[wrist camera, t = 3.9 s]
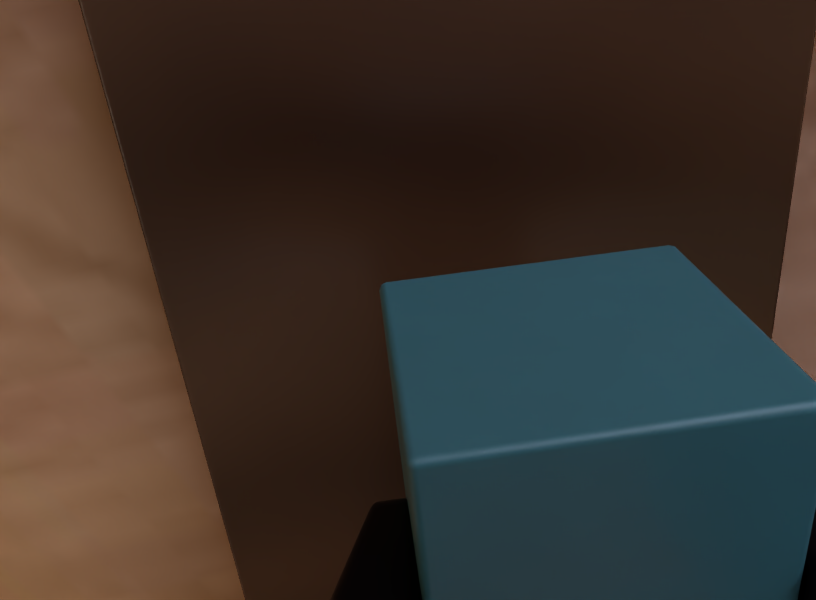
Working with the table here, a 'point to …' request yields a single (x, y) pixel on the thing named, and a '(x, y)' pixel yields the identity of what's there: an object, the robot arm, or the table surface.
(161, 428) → the table surface
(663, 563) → the teal ring spanner
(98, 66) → the brown peg board
